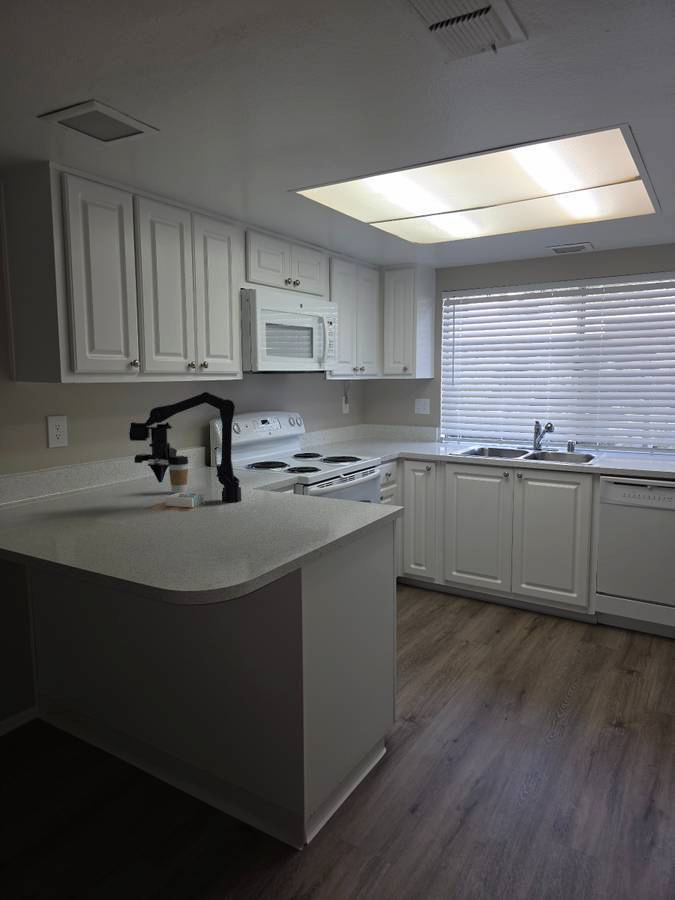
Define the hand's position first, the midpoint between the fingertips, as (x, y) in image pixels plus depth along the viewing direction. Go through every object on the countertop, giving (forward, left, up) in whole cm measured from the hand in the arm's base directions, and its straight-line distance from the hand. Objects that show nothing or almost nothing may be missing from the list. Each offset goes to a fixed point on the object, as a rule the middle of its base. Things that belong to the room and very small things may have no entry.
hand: (160, 482), depth 232 cm
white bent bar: (-10, 0, -8) cm, 13 cm away
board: (-8, +2, -9) cm, 12 cm away
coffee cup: (+8, -25, -9) cm, 28 cm away
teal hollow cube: (-13, 0, -8) cm, 15 cm away
